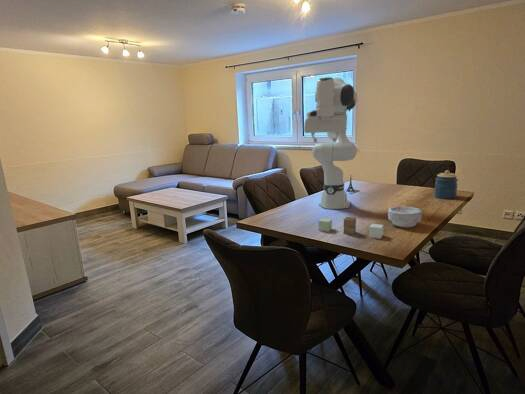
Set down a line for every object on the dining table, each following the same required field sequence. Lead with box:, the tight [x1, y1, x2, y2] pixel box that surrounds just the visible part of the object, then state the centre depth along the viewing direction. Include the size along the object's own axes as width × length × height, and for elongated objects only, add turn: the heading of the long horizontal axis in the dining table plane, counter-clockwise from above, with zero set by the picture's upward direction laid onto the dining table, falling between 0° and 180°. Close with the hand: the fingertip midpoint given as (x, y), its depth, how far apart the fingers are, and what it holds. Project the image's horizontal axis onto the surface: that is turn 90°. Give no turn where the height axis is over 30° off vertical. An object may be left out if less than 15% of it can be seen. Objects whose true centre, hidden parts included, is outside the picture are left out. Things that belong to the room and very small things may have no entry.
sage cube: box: [318, 217, 333, 233], centre depth 163 cm, size 5×5×5 cm
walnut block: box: [343, 216, 357, 236], centre depth 157 cm, size 4×4×7 cm
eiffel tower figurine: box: [345, 174, 361, 195], centre depth 245 cm, size 15×10×13 cm
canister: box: [433, 169, 459, 200], centre depth 216 cm, size 13×13×18 cm
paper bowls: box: [387, 205, 423, 228], centre depth 165 cm, size 15×15×8 cm
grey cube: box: [368, 223, 384, 240], centre depth 151 cm, size 5×5×5 cm
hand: (324, 141), depth 163 cm, fingers open, 8 cm apart
